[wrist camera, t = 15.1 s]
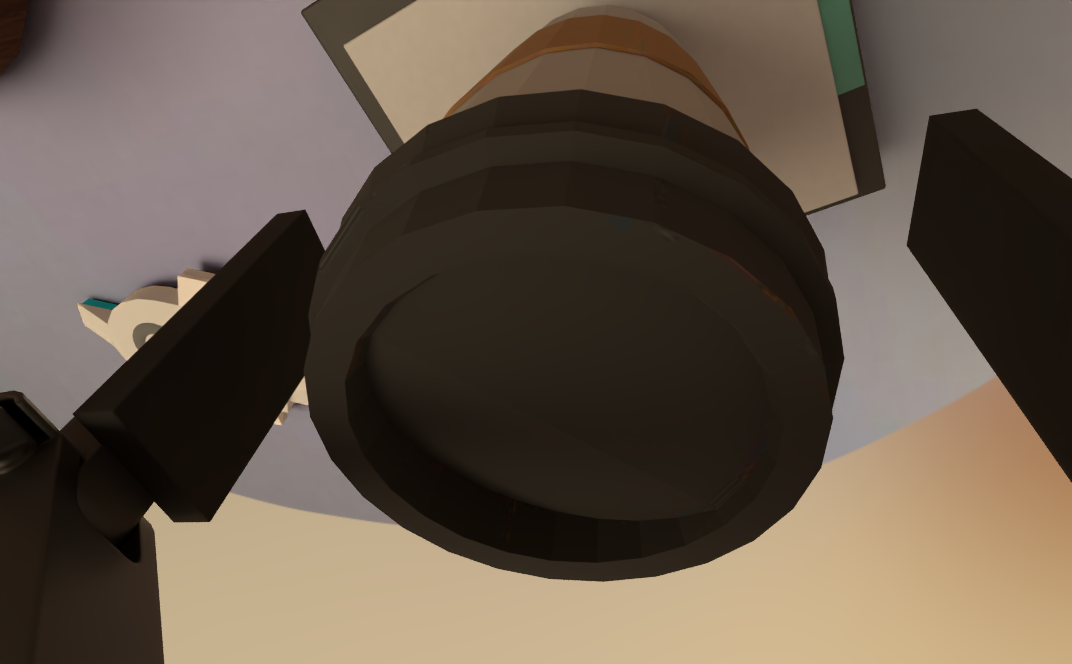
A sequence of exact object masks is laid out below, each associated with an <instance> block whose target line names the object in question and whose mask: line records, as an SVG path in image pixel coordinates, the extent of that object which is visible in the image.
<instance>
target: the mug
mask: <svg viewBox="0 0 1072 664" xmlns="http://www.w3.org/2000/svg"><path fill="white" fill-rule="evenodd" d="M27 9H28V0H0V75H1V74H2V73H3V71H4V70H5V69H6V68H7V67H8V65H9V64H10V63H11V62H12V60H13V59H14V58H15V57H16V56H17V54H18V53H19V51H20V46H21V40H22V35H23V30H24V25H25V19H26V14H27Z"/></svg>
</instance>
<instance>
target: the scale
mask: <svg viewBox="0 0 1072 664" xmlns="http://www.w3.org/2000/svg"><path fill="white" fill-rule="evenodd" d="M603 5H609V6H615V7H621V8H626V9H632V10H636V11H637V12H639V13H641V14H643V15H645V16H647V17H649V18H651V19H653V20H655V21H657V22H659V23H660V24H661V25H662V26H663V27H664V28H665V29H666V30H667V31H668V32H669V33H671V34H672V35H673V36H674V37H675V38H676V39H677V40H678V41H679V42H680V44H681V45H682V47H683V49H684V50H685V51H686V52H687V53H688V54H689V55H690V56H691V57H692V58H693V59H694V60H695V61H696V62H697V64H698V65H699V67H700V68H701V70H702V71H703V73H704V74H705V76H706V77H707V79H708V80H709V82H710V83H711V85H712V86H713V88H714V89H715V91H716V92H717V94H718V95H719V97H720V98H721V100H722V101H723V103H724V104H725V106H726V107H727V109H728V111H729V112H730V114H731V116H732V118H733V120H734V121H735V123H736V125H737V127H738V129H739V130H740V132H741V134H742V136H743V138H744V139H745V141H746V143H747V145H748V147H749V150H750V152H751V153H752V154H753V155H754V156H756V157H757V158H758V159H759V160H760V161H761V162H762V163H763V164H764V165H765V166H766V167H767V168H768V169H769V170H770V171H772V172H773V173H774V174H775V175H776V176H777V177H778V178H779V179H780V180H781V181H782V182H783V183H784V184H785V185H786V186H788V187H789V188H790V189H791V190H792V191H793V193H794V195H795V197H796V198H797V200H798V202H799V204H800V206H801V208H802V210H803V211H804V213H805V215H809V214H812V213H815V212H818V211H821V210H824V209H827V208H829V207H832V206H835V205H838V204H841V203H844V202H847V201H850V200H853V199H855V198H858V197H861V196H864V195H867V194H870V193H873V192H876V191H879V190H881V189H884V188H885V186H886V184H885V179H884V174H883V168H882V163H881V157H880V152H879V147H878V141H877V136H876V131H875V125H874V120H873V114H872V109H871V104H870V98H869V93H868V88H867V82H866V77H865V71H864V66H863V61H862V55H861V50H860V45H859V39H858V34H857V28H856V23H855V18H854V12H853V7H852V2H851V0H317V1H315V2H314V3H312V4H311V5H309V6H308V7H306V8H305V9H303V10H302V11H301V13H302V15H303V17H304V18H305V20H306V22H307V23H308V25H309V26H310V28H311V29H312V31H313V32H314V34H315V35H316V37H317V39H318V40H319V42H320V43H321V45H322V46H323V48H324V49H325V51H326V53H327V54H328V56H329V57H330V59H331V60H332V62H333V63H334V65H335V67H336V68H337V70H338V71H339V73H340V74H341V76H342V77H343V79H344V81H345V82H346V84H347V85H348V87H349V88H350V90H351V91H352V93H353V94H354V96H355V98H356V99H357V101H358V102H359V104H360V105H361V107H362V108H363V110H364V112H365V113H366V115H367V116H368V118H369V119H370V121H371V122H372V124H373V126H374V127H375V129H376V130H377V132H378V133H379V135H380V136H381V138H382V140H383V141H384V143H385V144H386V146H387V147H388V149H389V150H390V152H391V153H393V152H394V151H396V150H397V149H398V148H399V147H401V146H402V145H403V144H404V143H406V142H407V141H408V140H409V139H410V138H412V137H413V136H414V135H415V134H417V133H418V132H419V131H420V130H422V129H423V128H424V127H425V126H427V125H428V124H431V123H433V122H436V121H438V120H441V119H443V118H444V116H445V115H446V113H447V112H448V111H449V109H450V108H451V107H452V106H453V105H454V104H455V103H456V102H457V101H458V100H459V99H460V98H462V97H463V96H464V95H465V94H466V93H467V92H468V91H469V90H470V89H471V88H472V87H474V86H475V85H476V84H477V83H478V82H479V81H480V80H481V79H482V78H483V77H484V76H485V75H487V74H488V73H489V72H490V71H491V70H492V69H493V68H494V67H495V66H496V65H497V64H499V63H500V62H501V61H502V60H503V59H504V58H505V57H506V56H507V55H508V54H509V53H510V52H512V51H513V50H514V49H515V48H516V47H518V46H519V45H520V44H521V43H523V42H524V41H525V40H526V39H527V38H529V37H530V36H531V35H532V34H534V33H535V32H536V31H537V30H540V29H542V28H543V27H544V26H545V25H547V24H548V23H549V22H550V21H551V20H553V19H555V18H557V17H560V16H562V15H564V14H567V13H569V12H571V11H574V10H576V9H578V8H586V7H594V6H603Z"/></svg>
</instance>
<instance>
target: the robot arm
mask: <svg viewBox="0 0 1072 664" xmlns="http://www.w3.org/2000/svg"><path fill="white" fill-rule="evenodd" d="M907 247H908V248H909V250H910V251H911V252H912V254H913V255H914V257H915V258H916V260H917V261H918V262H919V264H920V265H921V267H922V268H923V270H924V271H925V273H926V274H927V275H928V277H929V278H930V280H931V281H932V283H933V284H934V285H935V287H936V288H937V290H938V291H939V293H940V294H941V296H942V297H943V298H944V300H945V301H946V303H947V304H948V306H949V307H950V308H951V310H952V311H953V313H954V314H955V316H956V317H957V319H958V320H959V321H960V323H961V324H962V326H963V327H964V329H965V330H966V331H967V333H968V334H969V336H970V337H971V339H972V340H973V342H974V343H975V344H976V346H977V347H978V349H979V350H980V352H981V353H982V354H983V356H984V357H985V359H986V360H987V362H988V363H989V365H990V366H991V367H992V369H993V370H994V372H995V373H996V375H997V376H998V377H999V379H1000V380H1001V382H1002V383H1003V385H1004V386H1005V387H1006V389H1007V390H1008V392H1009V393H1010V395H1011V396H1012V397H1013V399H1014V400H1015V402H1016V403H1017V405H1018V406H1019V407H1020V409H1021V410H1022V412H1023V413H1024V415H1025V416H1026V418H1027V419H1028V420H1029V422H1030V423H1031V425H1032V426H1033V428H1034V429H1035V431H1036V432H1037V433H1038V435H1039V436H1040V438H1041V439H1042V441H1043V442H1044V443H1045V445H1046V446H1047V448H1048V449H1049V451H1050V452H1051V454H1052V455H1053V456H1054V458H1055V459H1056V461H1057V462H1058V464H1059V465H1060V466H1061V468H1062V469H1063V471H1064V472H1065V474H1066V475H1067V477H1068V478H1069V479H1070V481H1071V482H1072V178H1070V177H1069V176H1067V175H1066V174H1065V173H1063V172H1062V171H1061V170H1059V169H1058V168H1057V167H1055V166H1054V165H1053V164H1051V163H1050V162H1048V161H1047V160H1046V159H1044V158H1043V157H1042V156H1040V155H1039V154H1038V153H1036V152H1035V151H1033V150H1032V149H1031V148H1029V147H1028V146H1027V145H1025V144H1024V143H1023V142H1021V141H1020V140H1018V139H1017V138H1016V137H1014V136H1013V135H1012V134H1010V133H1009V132H1008V131H1006V130H1005V129H1004V128H1002V127H1001V126H999V125H998V124H997V123H995V122H994V121H993V120H991V119H990V118H989V117H987V116H986V115H984V114H983V113H982V112H980V111H979V110H978V109H972V110H965V111H958V112H952V113H945V114H938V115H932V116H929V121H928V127H927V132H926V138H925V144H924V150H923V155H922V161H921V167H920V172H919V178H918V184H917V190H916V195H915V201H914V207H913V212H912V218H911V224H910V230H909V235H908V241H907ZM324 253H325V250H324V248H323V246H322V244H321V241H320V239H319V237H318V235H317V233H316V231H315V229H314V227H313V225H312V223H311V221H310V218H309V216H308V214H307V212H306V210H300V211H294V212H287V213H280V214H277V215H276V216H275V217H274V218H273V219H271V220H270V221H269V222H268V223H267V224H266V225H265V226H264V227H263V228H262V229H261V230H260V231H259V232H258V233H257V234H256V235H255V236H254V237H253V238H252V239H251V240H250V241H249V242H248V243H247V244H246V245H245V246H244V247H243V248H242V249H241V250H240V251H239V252H238V253H237V254H236V255H235V256H234V257H233V258H232V259H231V260H230V261H229V262H228V263H227V264H225V265H224V266H223V267H222V268H221V269H220V270H219V271H218V272H217V273H216V274H215V275H214V276H213V277H212V278H211V279H210V280H209V281H208V282H207V283H206V284H205V285H204V286H203V287H202V288H201V289H200V290H199V291H198V292H197V293H196V294H195V295H194V296H193V297H192V298H191V299H190V300H189V301H188V302H187V303H186V304H185V305H184V306H183V307H182V308H180V309H179V310H178V311H177V312H176V313H175V314H174V315H173V316H172V317H171V318H170V319H169V320H168V321H167V322H166V323H165V324H164V325H163V326H162V327H161V328H160V329H159V330H158V331H157V332H156V333H155V334H154V335H153V336H152V337H151V338H150V339H149V340H148V341H147V342H146V343H145V344H144V345H143V346H142V347H141V348H140V349H139V350H138V351H137V352H135V353H134V354H133V355H132V356H131V357H130V358H129V359H128V360H127V361H126V362H125V363H124V364H123V365H122V366H121V367H120V368H119V369H118V370H117V371H116V372H115V373H114V374H113V375H112V376H111V377H110V378H109V379H108V380H107V381H106V382H105V383H104V384H103V385H102V386H101V387H100V388H99V389H98V390H97V391H96V392H95V393H94V394H93V395H92V396H90V397H89V398H88V399H87V400H86V401H85V402H84V403H83V404H82V405H81V406H80V407H79V408H78V409H77V410H76V411H75V412H74V413H73V415H74V416H75V417H74V418H72V419H71V420H70V421H69V422H68V423H67V424H66V425H65V426H64V427H63V428H62V429H61V430H60V431H59V430H58V429H57V428H56V427H55V426H54V425H53V424H52V423H51V422H50V421H49V420H48V419H47V418H46V417H45V415H44V414H43V413H42V412H41V411H40V410H39V409H38V408H37V407H36V406H35V405H34V404H33V403H32V402H31V401H30V400H29V399H28V398H27V397H26V396H25V395H24V394H23V393H21V392H17V391H9V392H2V393H0V664H164V654H163V641H162V628H161V615H160V601H159V588H158V574H157V561H156V547H155V534H154V530H153V528H152V526H151V524H150V523H149V522H148V521H147V520H146V519H145V518H144V517H143V516H144V514H145V513H146V512H147V510H148V509H149V508H150V506H151V505H152V504H153V502H155V503H156V504H157V505H158V506H159V507H160V508H161V509H162V510H163V511H164V512H165V513H166V514H167V515H168V516H169V518H170V519H171V520H172V521H173V522H210V521H211V520H212V518H213V516H214V515H215V513H216V511H217V510H218V509H219V507H220V506H221V504H222V503H223V501H224V499H225V498H226V496H227V495H228V493H229V492H230V490H231V489H232V487H233V486H234V484H235V482H236V481H237V479H238V478H239V476H240V475H241V473H242V472H243V470H244V469H245V467H246V466H247V464H248V462H249V461H250V459H251V458H252V456H253V455H254V453H255V452H256V450H257V449H258V447H259V445H260V444H261V442H262V441H263V439H264V438H265V436H266V435H267V433H268V432H269V430H270V428H271V427H272V425H273V424H274V422H275V421H276V419H277V418H278V416H279V415H280V413H281V412H282V410H283V408H284V407H285V405H286V404H287V402H288V401H289V399H290V398H291V396H292V395H293V393H294V391H295V390H296V388H297V387H298V385H299V384H300V382H301V381H302V379H303V378H304V365H305V361H306V356H307V352H308V348H309V343H310V339H311V333H310V325H309V317H308V313H309V308H310V304H311V299H312V294H313V290H314V285H315V281H316V276H317V271H318V267H319V262H320V260H321V258H322V256H323V254H324Z"/></svg>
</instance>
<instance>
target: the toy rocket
mask: <svg viewBox="0 0 1072 664" xmlns="http://www.w3.org/2000/svg"><path fill="white" fill-rule="evenodd" d="M214 275H215V274H213V273H208V272H204V271H199V270H194V269H190V268H187V269H186V270H185V271H184V273H183V274H181V275H178V276H177V278H178V289H175V288H172V287H164V286H148V287H144V288H140V289H137V290H136V291H135V292H133V293H132V294H131V295H130V296H128V297H127V298H126V299H125V300H124V301H122V302H121V303H120V304H119V305H116V304H111V303H107V302H102V301H97V300H93V299H88V300H86V301H85V302H84V303H83V304H81V303H77V306H78V308H79V311H80V314H81V317H82V319H83V322H84V325H85V326H86V327H88V328H89V329H91V330H92V331H94V332H95V333H96V334H98V335H99V336H101V337H102V338H104V339H105V340H106V341H108V342H109V343H111V344H112V345H114V346H115V347H116V349H117V350H118V351H119V353H120V354H121V355H122V356H123V357H124V358H125V359H126V361H127V360H128V359H129V358H130V357H131V356H132V355H133V354H134V353H135V352H137V351H138V350H139V349H140V348H141V347H142V346H143V345H144V344H145V343H146V342H147V341H148V340H149V339H150V338H151V337H152V336H153V335H154V334H155V333H156V332H157V331H158V330H159V329H160V328H161V327H162V326H163V325H164V324H165V323H166V322H167V321H168V320H169V319H170V318H171V317H172V316H173V315H174V314H175V313H176V312H177V311H178V310H179V309H180V308H182V307H183V306H184V305H185V304H186V303H187V302H188V301H189V300H190V299H191V298H192V297H193V296H194V295H195V294H196V293H197V292H198V291H199V290H200V289H201V288H202V287H203V286H204V285H205V284H206V283H207V282H208V281H209V280H210V279H211V278H212V277H213V276H214ZM294 403H300V404H304V405H309V404H308V398H307V391H306V384H305V377H304V378H303V379H302V381H301V382H300V384H299V385H298V387H297V388H296V390H295V391H294V393H293V395H292V396H291V398H290V399H289V401H288V402H287V404H286V405H285V407H284V408H283V410H282V412H281V413H280V415H279V416H278V418H277V419H276V421H275V422H274V424H277V425H283V423H284V420H285V419H286V418H287V415H288V412H289V411H290V409H291V407H292V406H293V404H294Z"/></svg>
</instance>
